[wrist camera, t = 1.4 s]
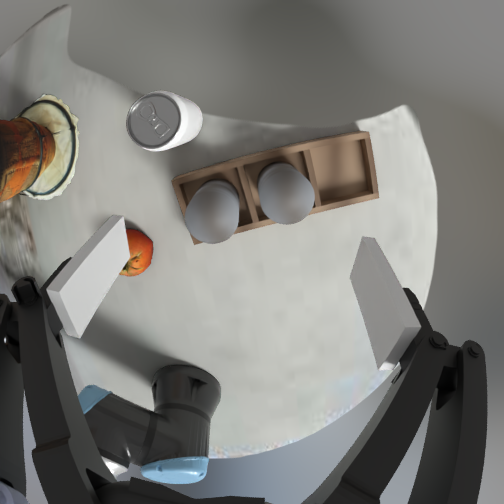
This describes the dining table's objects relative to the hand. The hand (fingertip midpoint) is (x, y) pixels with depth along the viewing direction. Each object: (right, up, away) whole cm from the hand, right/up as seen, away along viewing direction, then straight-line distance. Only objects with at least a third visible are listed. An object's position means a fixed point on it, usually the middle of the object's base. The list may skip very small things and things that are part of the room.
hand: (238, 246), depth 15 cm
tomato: (-18, 0, +28) cm, 33 cm away
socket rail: (+4, +9, +23) cm, 26 cm away
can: (-9, +17, +20) cm, 28 cm away
